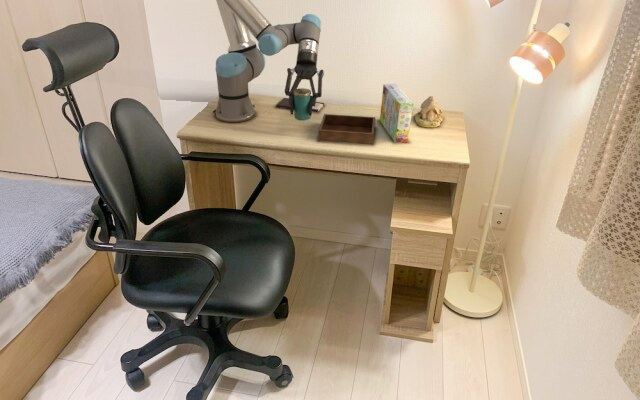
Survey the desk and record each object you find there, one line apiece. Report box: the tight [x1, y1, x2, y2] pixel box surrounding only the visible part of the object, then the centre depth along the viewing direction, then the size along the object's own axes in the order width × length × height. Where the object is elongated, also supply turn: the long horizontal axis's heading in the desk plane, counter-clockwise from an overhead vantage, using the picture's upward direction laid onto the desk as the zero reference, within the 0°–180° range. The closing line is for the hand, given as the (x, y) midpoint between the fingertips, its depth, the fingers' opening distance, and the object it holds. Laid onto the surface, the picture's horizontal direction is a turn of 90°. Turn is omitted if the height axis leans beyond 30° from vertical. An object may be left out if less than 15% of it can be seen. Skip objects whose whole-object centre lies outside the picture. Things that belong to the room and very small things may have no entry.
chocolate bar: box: [275, 97, 325, 113], centre depth 201 cm, size 9×1×18 cm
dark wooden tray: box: [318, 113, 376, 145], centre depth 177 cm, size 20×16×4 cm
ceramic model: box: [414, 95, 444, 128], centre depth 187 cm, size 14×11×10 cm
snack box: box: [379, 83, 414, 143], centre depth 177 cm, size 21×6×15 cm, turn 9°
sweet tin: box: [293, 87, 312, 121], centre depth 174 cm, size 6×6×10 cm
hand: (300, 113), depth 172 cm, fingers closed on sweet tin, 6 cm apart
